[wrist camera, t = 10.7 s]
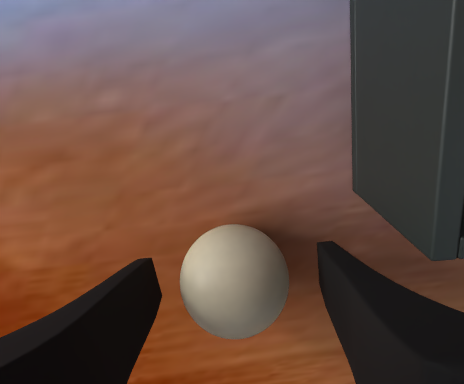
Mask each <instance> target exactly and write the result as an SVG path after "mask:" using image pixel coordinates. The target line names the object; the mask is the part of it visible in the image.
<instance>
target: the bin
mask: <svg viewBox="0 0 464 384" xmlns="http://www.w3.org/2000/svg"><path fill="white" fill-rule="evenodd" d="M350 33H351V101H352V169H353V191H354V192H355V193H356V194H358V195H359V196H360V197H361V198H362V199H363V200H364V201H365V202H366V203H368V204H369V205H370V206H371V207H372V208H373V209H374V210H375V211H376V212H378V213H379V214H380V215H381V216H382V217H383V218H384V219H385V220H386V221H388V222H389V223H390V224H391V225H392V226H393V227H394V228H395V229H396V230H398V231H399V232H400V233H401V234H402V235H403V236H404V237H405V238H406V239H407V240H409V241H410V242H411V243H412V244H413V245H414V246H415V247H416V248H417V249H419V250H420V251H421V252H422V253H423V254H424V255H425V256H426V257H427V258H429V259H430V260H432V261H441V260H453V259H456V258H459V259H464V0H350Z"/></svg>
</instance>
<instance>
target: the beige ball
mask: <svg viewBox="0 0 464 384" xmlns="http://www.w3.org/2000/svg"><path fill="white" fill-rule="evenodd" d="M288 289H289V273H288V268H287V265H286V262H285V259H284V256H283V255H282V253H281V251H280V249H279V248H278V246H277V245H276V244H275V243H274V242H273V241H272V240H271V239H270V238H269V237H268V236H267V235H266V234H264V233H263V232H261V231H259V230H257V229H255V228H253V227H249V226H246V225H239V224H229V225H222V226H219V227H216V228H214V229H212V230H210V231H208V232H206V233H205V234H203V235H202V236H201V237H199V238H198V239H197V240H196V241H195V243H194V244H193V245H192V246H191V248H190V249H189V251H188V252H187V254H186V256H185V258H184V261H183V264H182V268H181V274H180V290H181V296H182V299H183V302H184V305H185V307H186V309H187V311H188V312H189V314H190V316H191V317H192V318H193V320H194V321H195V322H196V323H197V324H198V325H199V326H200V327H202V328H203V329H204V330H206V331H207V332H209V333H211V334H213V335H215V336H218V337H221V338H226V339H244V338H248V337H251V336H254V335H256V334H258V333H260V332H262V331H264V330H265V329H266V328H268V327H269V326H270V325H271V324H272V323H273V322H274V321H275V320H276V319H277V317H278V316H279V314H280V313H281V311H282V309H283V307H284V305H285V302H286V299H287V296H288Z"/></svg>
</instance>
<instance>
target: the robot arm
mask: <svg viewBox="0 0 464 384" xmlns="http://www.w3.org/2000/svg"><path fill="white" fill-rule="evenodd" d="M317 253H318V269H319V284H320V288H321V292H322V295H323V299H324V302H325V306H326V309H327V311H328V313H329V316H330V318H331V321H332V323H333V326H334V328H335V330H336V333H337V335H338V338H339V340H340V342H341V345H342V347H343V350H344V352H345V354H346V357H347V359H348V362H349V364H350V367H351V370H352V372H353V376H354V379H355V382H356V384H464V313H463V312H461V311H458V310H455V309H453V308H450V307H448V306H445V305H443V304H440V303H438V302H436V301H433V300H431V299H428V298H426V297H424V296H422V295H419V294H417V293H415V292H413V291H411V290H409V289H407V288H405V287H403V286H401V285H399V284H397V283H395V282H394V281H392V280H390V279H388V278H386V277H385V276H383V275H381V274H380V273H378V272H376V271H375V270H373V269H372V268H370V267H368V266H367V265H365V264H364V263H362V262H361V261H359V260H358V259H356V258H355V257H354V256H352V255H351V254H349V253H348V252H347V251H345V250H344V249H343V248H341V247H340V246H339V245H337V244H336V243H334V242H333V241H326V242H317ZM161 298H162V293H161V290H160V286H159V283H158V279H157V275H156V272H155V268H154V265H153V261H152V258H143V259H137V260H136V261H134V262H132V263H130V264H129V265H127V266H126V267H124V268H123V269H121V270H120V271H118V272H117V273H115V274H114V275H112V276H111V277H109V278H108V279H106V280H105V281H103V282H102V283H101V284H99V285H98V286H96V287H94V288H93V289H91V290H90V291H88V292H87V293H85V294H83V295H82V296H80V297H79V298H77V299H76V300H74V301H72V302H71V303H69V304H67V305H65V306H64V307H62V308H60V309H58V310H56V311H55V312H53V313H51V314H49V315H47V316H45V317H43V318H41V319H39V320H37V321H35V322H33V323H31V324H29V325H27V326H25V327H23V328H21V329H18V330H16V331H14V332H12V333H10V334H8V335H5V336H3V337H1V338H0V384H127V381H128V379H129V376H130V374H131V372H132V369H133V367H134V365H135V362H136V360H137V358H138V356H139V354H140V351H141V349H142V347H143V345H144V343H145V340H146V338H147V336H148V334H149V332H150V329H151V327H152V325H153V323H154V320H155V318H156V315H157V312H158V309H159V305H160V302H161Z"/></svg>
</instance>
